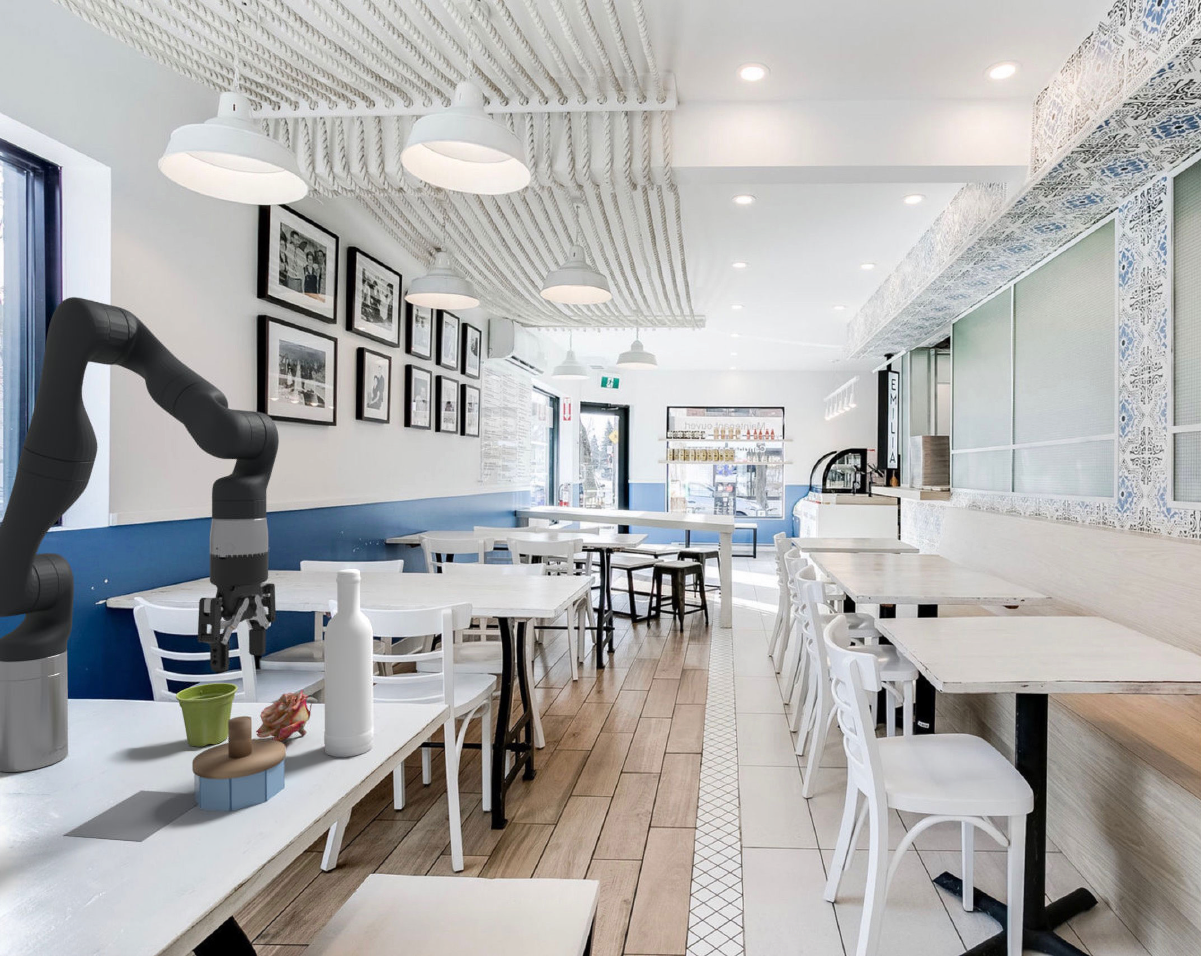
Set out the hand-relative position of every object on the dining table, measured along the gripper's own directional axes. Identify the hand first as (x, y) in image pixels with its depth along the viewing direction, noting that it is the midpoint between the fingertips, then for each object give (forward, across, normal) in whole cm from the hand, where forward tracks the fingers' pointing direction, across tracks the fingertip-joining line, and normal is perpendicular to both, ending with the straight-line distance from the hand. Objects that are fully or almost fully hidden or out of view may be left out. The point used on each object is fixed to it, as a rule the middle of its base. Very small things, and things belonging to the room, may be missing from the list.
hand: (239, 662), depth 105 cm
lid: (+14, 0, 0) cm, 14 cm away
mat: (+19, +8, -9) cm, 23 cm away
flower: (+20, -21, -6) cm, 29 cm away
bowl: (+19, 0, 0) cm, 19 cm away
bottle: (+19, -19, +7) cm, 28 cm away
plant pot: (+20, -19, -19) cm, 33 cm away
